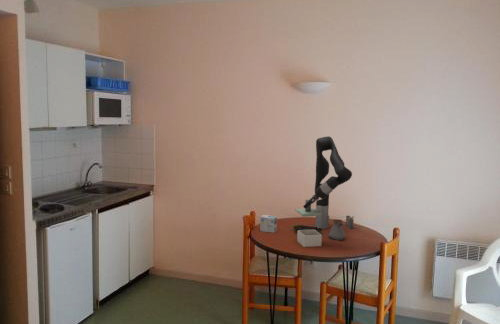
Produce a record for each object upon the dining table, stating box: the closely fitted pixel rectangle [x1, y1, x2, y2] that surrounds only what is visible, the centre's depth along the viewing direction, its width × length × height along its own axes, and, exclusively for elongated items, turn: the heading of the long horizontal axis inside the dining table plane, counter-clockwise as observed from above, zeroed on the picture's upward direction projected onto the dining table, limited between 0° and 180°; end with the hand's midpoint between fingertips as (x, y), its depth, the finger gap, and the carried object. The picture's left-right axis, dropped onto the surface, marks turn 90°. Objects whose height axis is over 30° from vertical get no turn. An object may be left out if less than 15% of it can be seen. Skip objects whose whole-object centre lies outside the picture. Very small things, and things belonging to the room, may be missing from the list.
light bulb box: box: [259, 214, 278, 234], centre depth 285 cm, size 11×7×11 cm, turn 71°
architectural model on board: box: [345, 215, 355, 230], centre depth 299 cm, size 11×3×10 cm, turn 1°
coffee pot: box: [328, 219, 346, 242], centre depth 264 cm, size 21×12×15 cm, turn 178°
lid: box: [294, 199, 321, 217], centre depth 255 cm, size 13×13×9 cm
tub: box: [296, 229, 323, 248], centre depth 257 cm, size 12×12×8 cm
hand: (305, 206), depth 256 cm, fingers closed on lid, 3 cm apart
